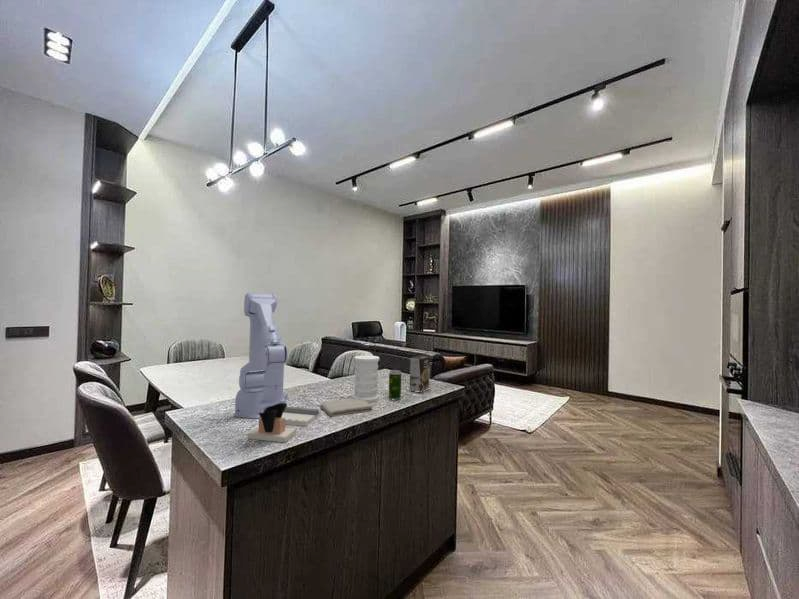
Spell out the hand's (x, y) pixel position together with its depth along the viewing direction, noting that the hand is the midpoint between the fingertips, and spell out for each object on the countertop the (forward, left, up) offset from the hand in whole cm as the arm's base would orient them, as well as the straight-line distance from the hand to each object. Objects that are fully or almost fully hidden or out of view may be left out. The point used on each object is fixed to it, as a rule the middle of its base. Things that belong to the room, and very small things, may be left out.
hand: (271, 429), depth 103 cm
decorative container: (+16, +48, -2) cm, 51 cm away
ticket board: (0, +17, -2) cm, 17 cm away
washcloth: (+13, +32, -3) cm, 35 cm away
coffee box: (+37, +69, -2) cm, 78 cm away
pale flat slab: (0, 0, -2) cm, 2 cm away
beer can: (+28, +52, -2) cm, 59 cm away
